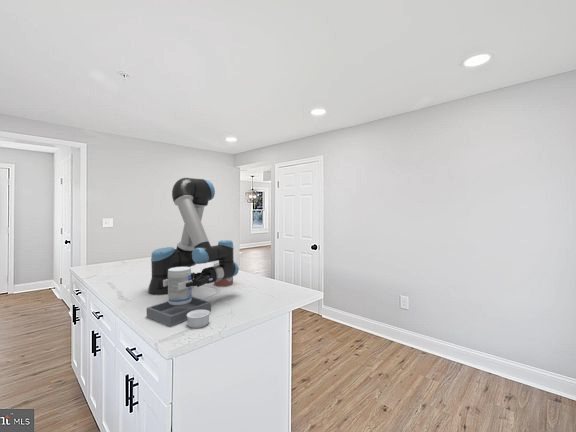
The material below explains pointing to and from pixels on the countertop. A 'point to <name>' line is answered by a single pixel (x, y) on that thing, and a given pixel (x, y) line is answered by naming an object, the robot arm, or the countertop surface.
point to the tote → (176, 311)
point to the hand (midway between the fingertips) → (170, 285)
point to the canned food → (224, 281)
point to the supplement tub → (174, 278)
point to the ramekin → (198, 318)
